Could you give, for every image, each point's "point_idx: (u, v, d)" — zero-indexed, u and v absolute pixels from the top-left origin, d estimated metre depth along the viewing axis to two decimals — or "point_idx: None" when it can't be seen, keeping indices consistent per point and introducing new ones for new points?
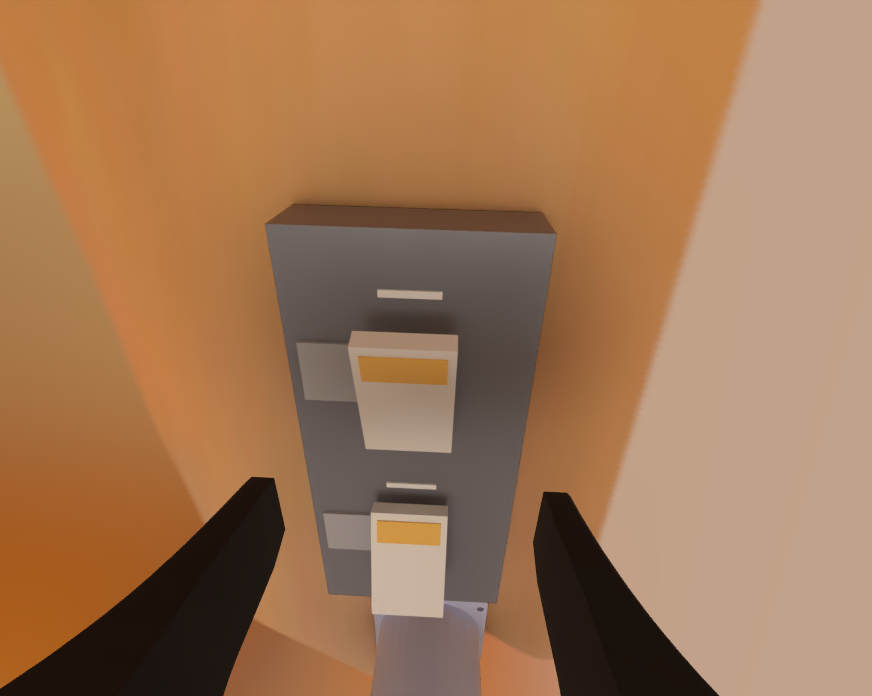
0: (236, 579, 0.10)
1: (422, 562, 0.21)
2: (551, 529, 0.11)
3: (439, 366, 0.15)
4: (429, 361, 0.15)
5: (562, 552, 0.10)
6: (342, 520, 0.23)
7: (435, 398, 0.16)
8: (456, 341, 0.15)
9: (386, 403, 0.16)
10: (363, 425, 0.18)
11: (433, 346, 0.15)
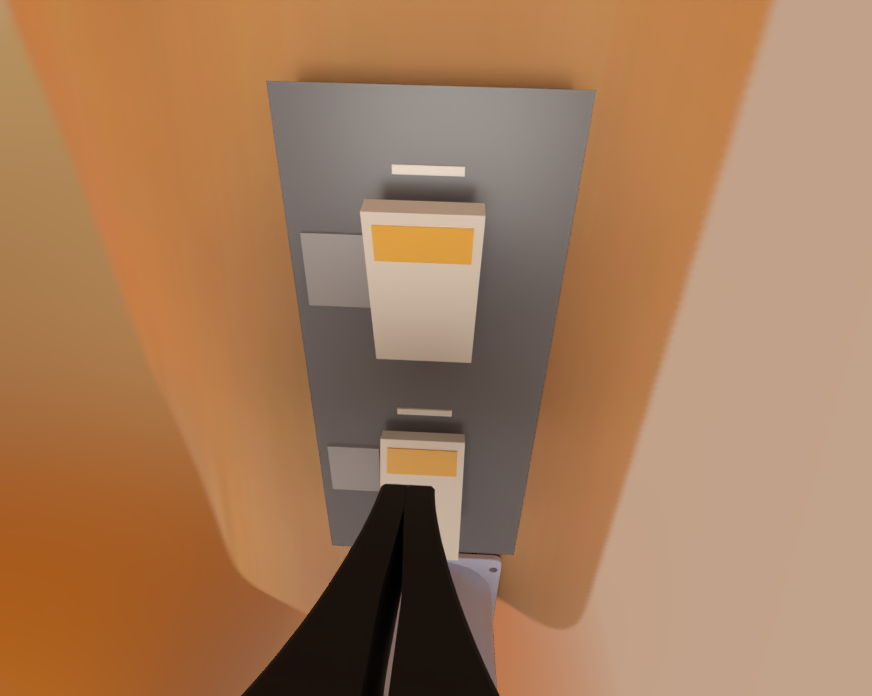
0: (392, 587, 0.10)
1: (436, 496, 0.20)
2: None
3: (463, 237, 0.13)
4: (452, 231, 0.13)
5: None
6: (348, 455, 0.21)
7: (456, 284, 0.14)
8: (483, 208, 0.13)
9: (401, 293, 0.15)
10: (374, 325, 0.16)
11: (457, 212, 0.13)
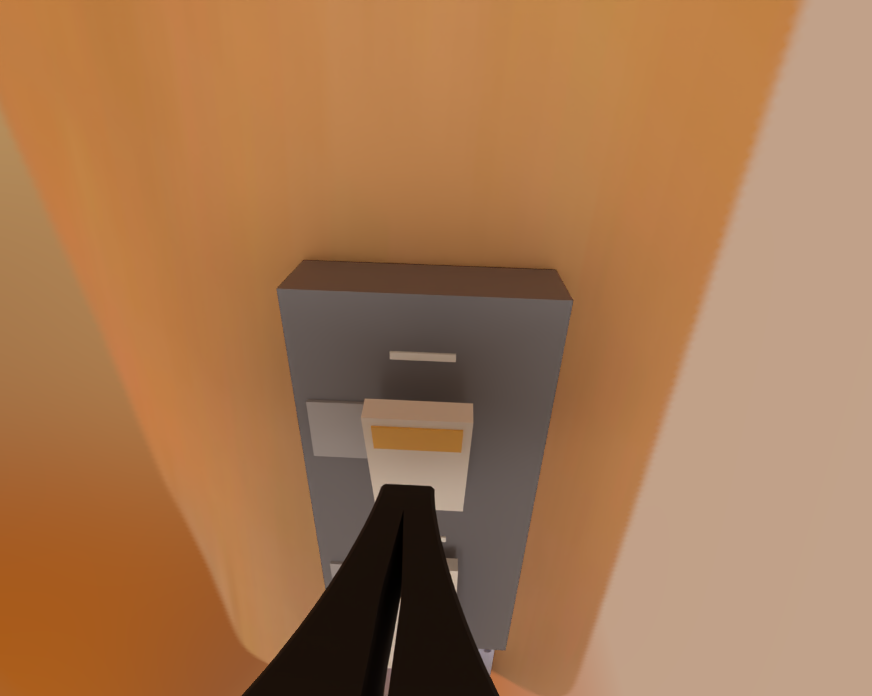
0: (392, 586, 0.10)
1: None
2: None
3: (454, 436, 0.15)
4: (443, 431, 0.14)
5: None
6: None
7: (448, 463, 0.16)
8: (471, 411, 0.14)
9: (398, 467, 0.16)
10: (374, 486, 0.17)
11: (448, 416, 0.14)
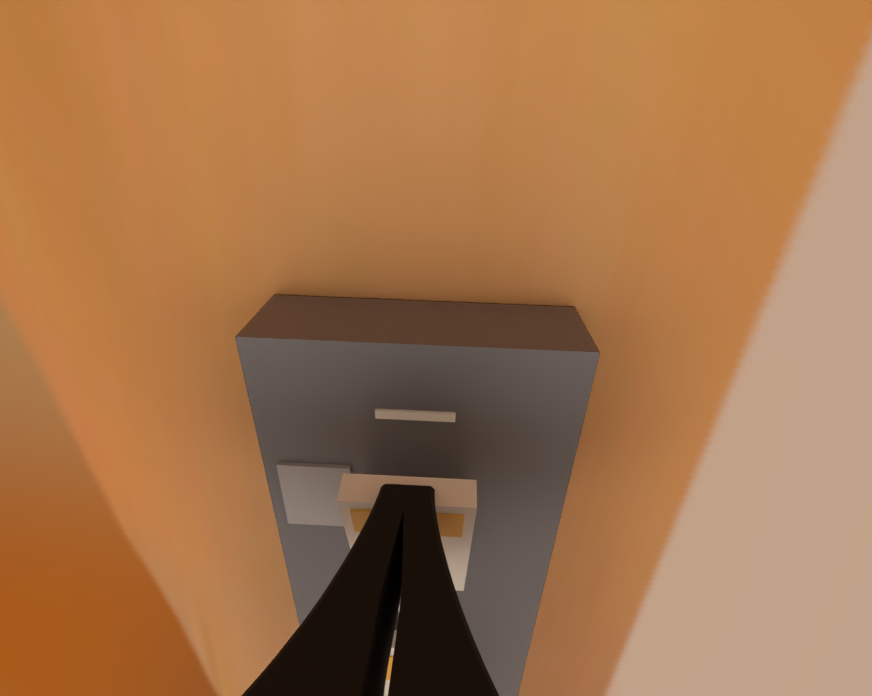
0: (392, 587, 0.10)
1: None
2: None
3: (453, 521, 0.12)
4: (440, 515, 0.12)
5: None
6: None
7: (446, 546, 0.13)
8: (474, 490, 0.12)
9: None
10: None
11: (445, 498, 0.12)
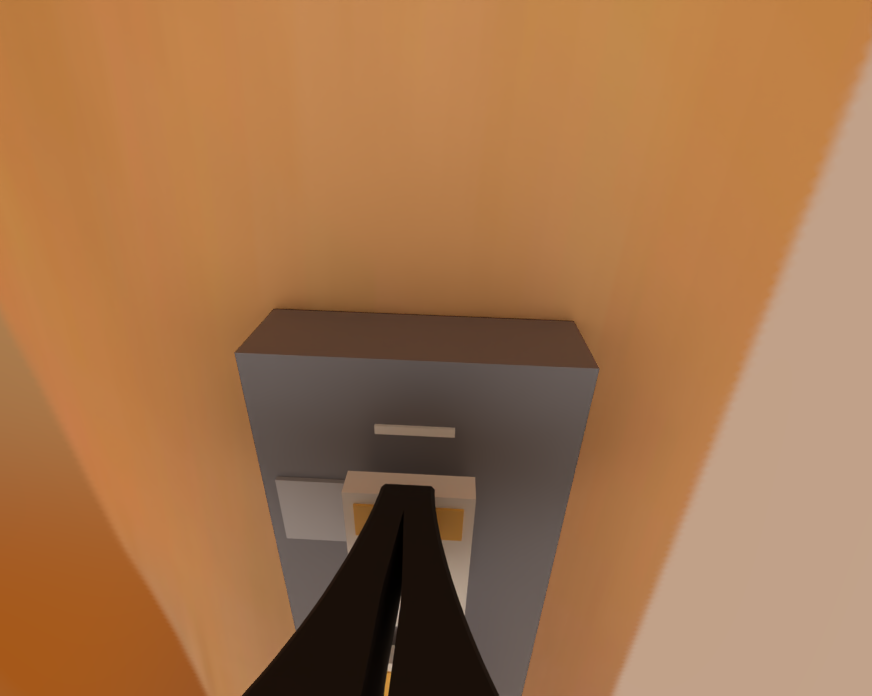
0: (392, 587, 0.10)
1: None
2: None
3: (452, 517, 0.12)
4: (440, 511, 0.12)
5: None
6: None
7: None
8: (473, 485, 0.12)
9: None
10: None
11: (445, 491, 0.12)
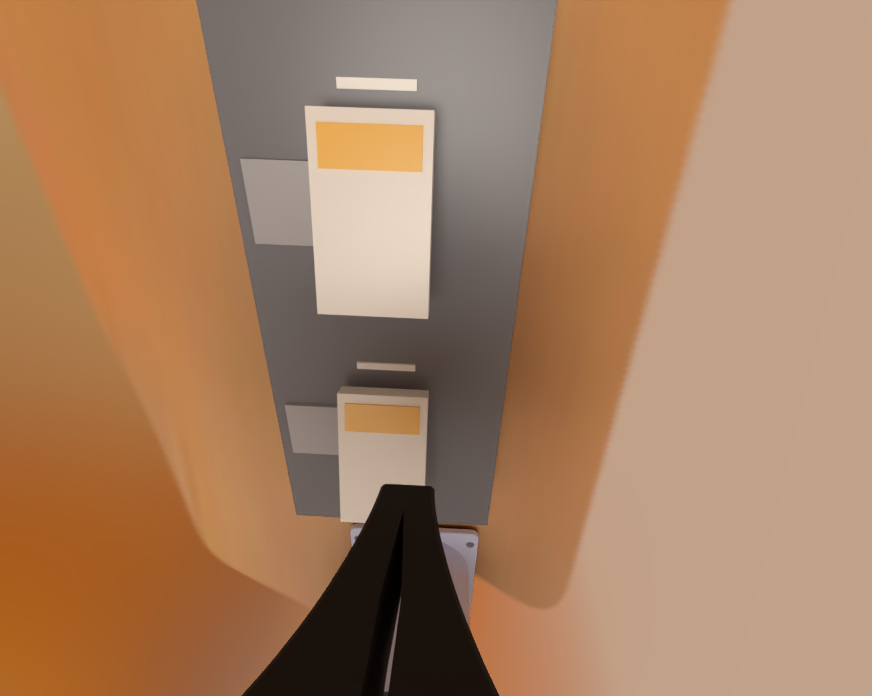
0: (392, 587, 0.10)
1: (398, 456, 0.18)
2: None
3: (412, 135, 0.12)
4: (400, 129, 0.12)
5: None
6: (307, 414, 0.20)
7: (407, 201, 0.13)
8: None
9: (347, 214, 0.13)
10: (316, 262, 0.14)
11: None
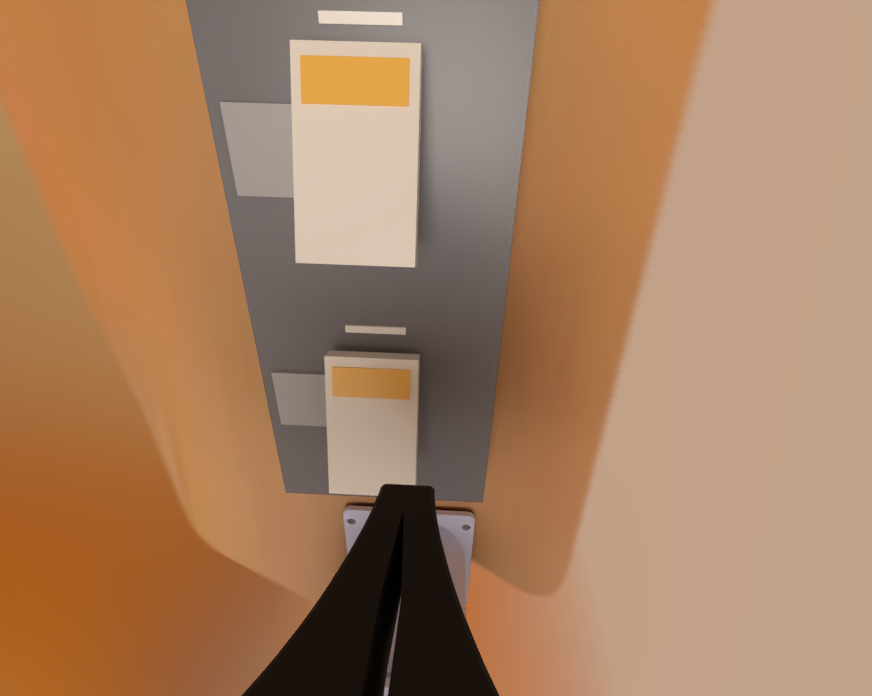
0: (392, 587, 0.10)
1: (388, 422, 0.18)
2: None
3: (399, 68, 0.12)
4: (386, 63, 0.12)
5: None
6: (294, 382, 0.19)
7: (393, 138, 0.13)
8: None
9: (330, 152, 0.13)
10: (296, 204, 0.13)
11: None
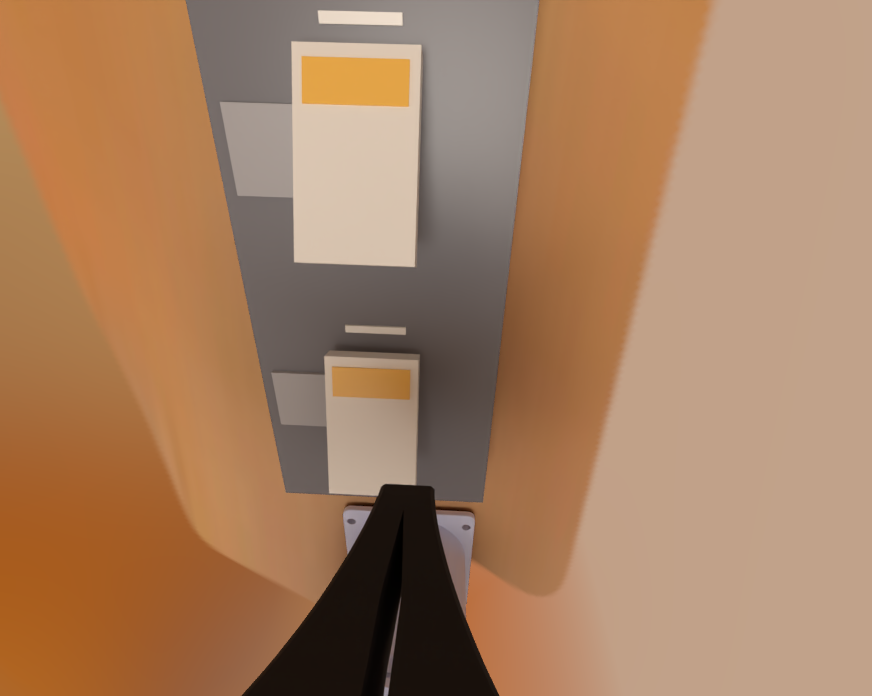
0: (392, 587, 0.10)
1: (388, 422, 0.18)
2: None
3: (399, 69, 0.12)
4: (387, 64, 0.12)
5: None
6: (294, 382, 0.19)
7: (393, 138, 0.13)
8: None
9: (330, 151, 0.13)
10: (295, 203, 0.13)
11: None
